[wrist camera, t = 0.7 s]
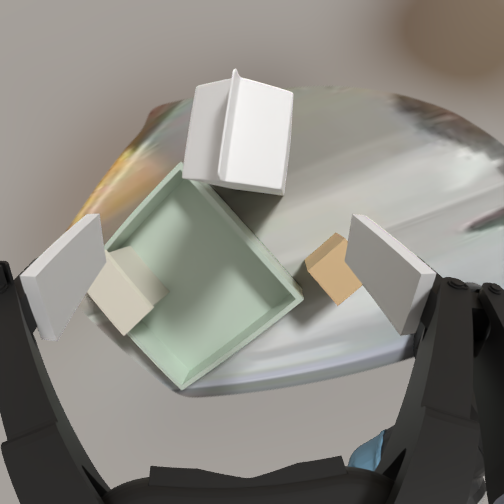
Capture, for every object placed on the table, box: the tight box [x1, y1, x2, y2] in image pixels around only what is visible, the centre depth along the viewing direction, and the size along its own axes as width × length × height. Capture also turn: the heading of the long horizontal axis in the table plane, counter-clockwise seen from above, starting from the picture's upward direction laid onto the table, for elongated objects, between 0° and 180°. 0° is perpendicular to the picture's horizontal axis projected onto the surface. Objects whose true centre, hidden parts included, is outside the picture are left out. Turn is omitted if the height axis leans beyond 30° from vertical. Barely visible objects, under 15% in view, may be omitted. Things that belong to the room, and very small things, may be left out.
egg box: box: [87, 246, 170, 336], centre depth 35 cm, size 9×6×7 cm, turn 42°
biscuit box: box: [305, 233, 363, 306], centre depth 33 cm, size 5×5×6 cm
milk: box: [182, 69, 293, 196], centre depth 24 cm, size 6×6×22 cm
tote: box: [104, 162, 304, 390], centre depth 36 cm, size 20×20×4 cm
